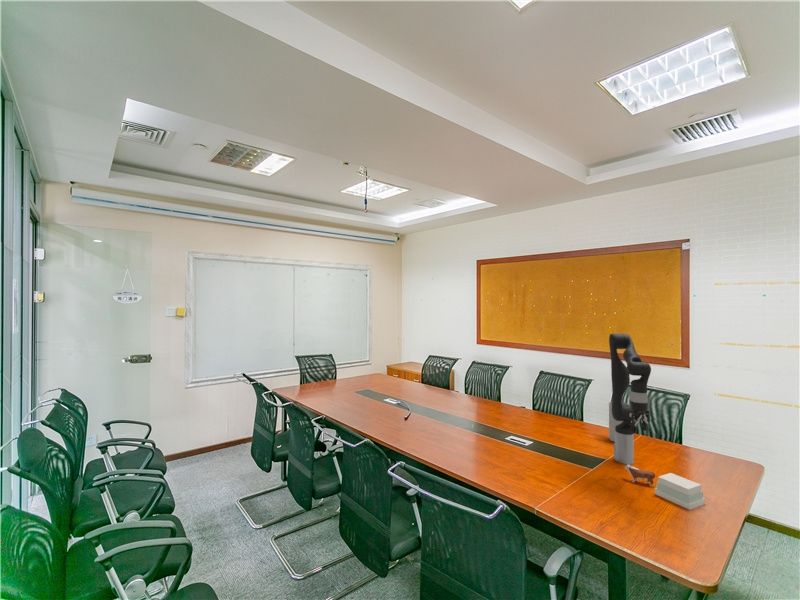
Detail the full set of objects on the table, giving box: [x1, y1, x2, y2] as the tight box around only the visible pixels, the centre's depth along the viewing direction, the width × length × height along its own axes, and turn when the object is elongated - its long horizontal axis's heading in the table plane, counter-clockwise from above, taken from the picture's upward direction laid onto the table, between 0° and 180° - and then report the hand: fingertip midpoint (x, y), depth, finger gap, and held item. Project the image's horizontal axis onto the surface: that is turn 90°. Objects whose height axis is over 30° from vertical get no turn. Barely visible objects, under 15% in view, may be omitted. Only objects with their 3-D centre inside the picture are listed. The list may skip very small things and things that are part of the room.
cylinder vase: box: [608, 401, 630, 443], centre depth 245 cm, size 12×12×25 cm
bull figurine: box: [624, 464, 656, 487], centre depth 187 cm, size 4×13×8 cm, turn 51°
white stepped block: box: [654, 472, 706, 511], centre depth 171 cm, size 15×12×9 cm
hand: (639, 431), depth 188 cm, fingers open, 8 cm apart
